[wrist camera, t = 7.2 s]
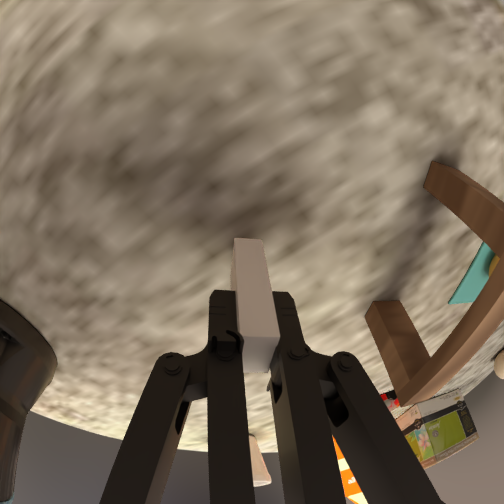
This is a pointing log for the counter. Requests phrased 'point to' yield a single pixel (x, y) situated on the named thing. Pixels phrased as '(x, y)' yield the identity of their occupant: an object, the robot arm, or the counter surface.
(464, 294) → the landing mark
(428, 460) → the tea box
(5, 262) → the counter surface
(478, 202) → the bridge
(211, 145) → the counter surface
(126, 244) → the counter surface
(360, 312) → the counter surface
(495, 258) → the ball
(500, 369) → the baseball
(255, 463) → the cup
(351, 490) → the orange juice
